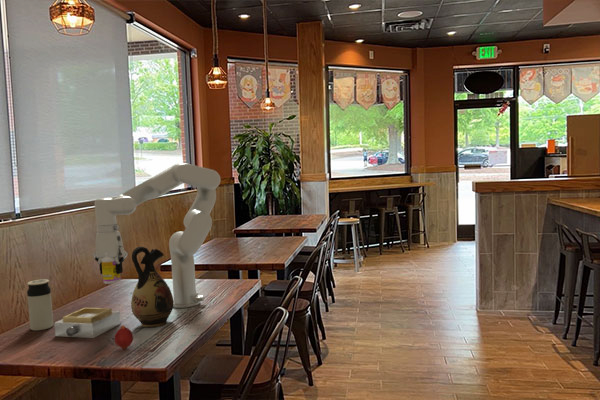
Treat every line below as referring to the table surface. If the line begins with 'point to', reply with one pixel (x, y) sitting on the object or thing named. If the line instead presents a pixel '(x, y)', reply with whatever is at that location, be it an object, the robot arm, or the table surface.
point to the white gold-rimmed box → (87, 322)
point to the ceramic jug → (150, 291)
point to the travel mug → (40, 305)
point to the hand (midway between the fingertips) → (111, 272)
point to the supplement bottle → (109, 270)
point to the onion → (123, 337)
